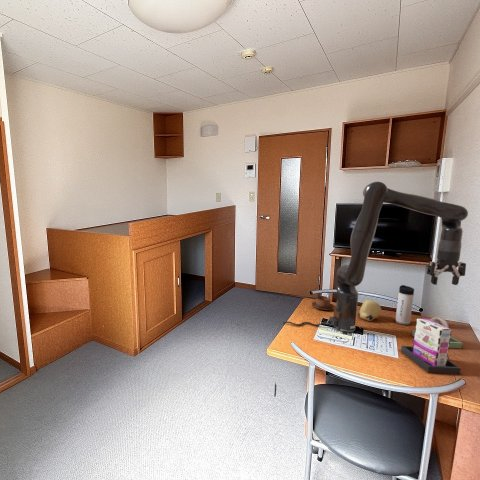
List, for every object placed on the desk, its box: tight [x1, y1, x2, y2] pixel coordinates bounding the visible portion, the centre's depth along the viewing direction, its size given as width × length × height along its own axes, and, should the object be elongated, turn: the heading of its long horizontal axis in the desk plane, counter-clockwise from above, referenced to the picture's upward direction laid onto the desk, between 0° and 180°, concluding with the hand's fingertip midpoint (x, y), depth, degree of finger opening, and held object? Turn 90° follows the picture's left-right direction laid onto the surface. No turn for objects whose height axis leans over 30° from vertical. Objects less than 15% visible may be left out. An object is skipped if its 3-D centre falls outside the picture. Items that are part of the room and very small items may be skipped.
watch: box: [429, 316, 449, 328], centre depth 148 cm, size 6×8×11 cm
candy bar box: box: [412, 318, 452, 366], centre depth 130 cm, size 11×5×16 cm, turn 5°
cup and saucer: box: [311, 295, 335, 311], centre depth 190 cm, size 12×12×6 cm
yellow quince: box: [357, 299, 382, 322], centre depth 174 cm, size 10×12×11 cm
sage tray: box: [411, 330, 463, 349], centre depth 148 cm, size 14×12×3 cm
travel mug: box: [395, 284, 415, 326], centre depth 168 cm, size 6×7×20 cm
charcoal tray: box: [400, 345, 462, 375], centre depth 132 cm, size 12×17×3 cm
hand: (444, 284), depth 144 cm, fingers open, 8 cm apart
